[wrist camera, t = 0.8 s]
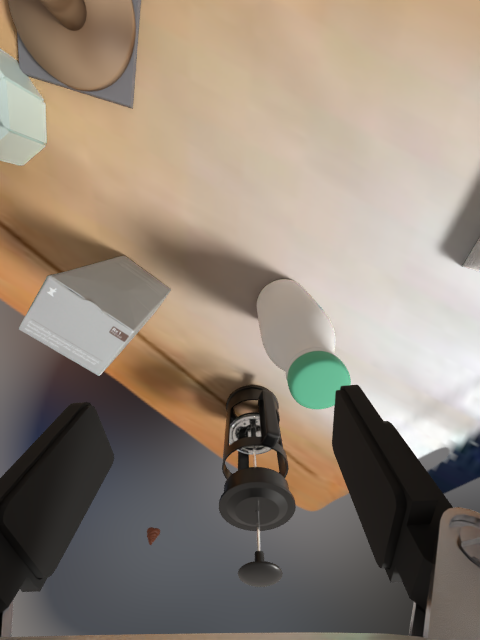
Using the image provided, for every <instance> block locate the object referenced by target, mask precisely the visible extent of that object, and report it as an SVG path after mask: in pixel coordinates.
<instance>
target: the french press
mask: <svg viewBox="0 0 480 640" xmlns="http://www.w3.org/2000/svg"><path fill="white" fill-rule="evenodd" d="M247 400H258V406H259V413H254V412H253V413H246V414H243V415H240V416H238V417H237V416H236V414H235V413H234V409H233V407H234V406H235V405H237V404H238V403H241V402H243V401H247ZM278 408H279V407H278V401H277V398H276V397H275V395H274V394H273V393H272V392H271V391H269V390H268V389H266V388H264V387H261V386H255V385H250V386H244V387H241V388H239V389H237V390H235V391H234V392H233V393H232V394H231V395H230V397H229V398H228V400H227V404H226V410H227V418H226V430H225V442H224V453H223V465H222V470H223V474H224V476H225V478H226V479H227V481H226V483H225V485H224V493H223V494H222V496H221V498H220V500H219V511H220V513H221V515H222V517H223V518H224V519H225V520H226V521H227V522H229V523H230V524H231V525H233V526H236V527H238V528H241V529H244V530H250V531H257V551H256V552H255V562H250V563H247V564H245V565H243V566H242V567H241V568H240V569H239V571H238V576H239V578H240V580H241V581H243V582H244V583H246V584H248V585H251V586H256V587H265V586H270V585H273V584H275V583H277V582H278V581H279V580H280V579H281V577H282V571H281V569H280V568H279V567H278V566H277V565H275V564H273V563H270V562H265V561H264V553H263V552H262V551H261V547H260V531H264V530H270V529H273V528H276V527H279V526H281V525H283V524H284V523H286V522H287V521H288V520H289V519H290V518H291V517H292V516H293V514H294V512H295V500H294V497H293V495H292V494H291V492H290V491H289V487H288V483H287V481H286V480H285V477H286V475H287V473H288V461H287V456H286V453H285V451H284V449H283V445H282V439H281V434H280V428H279V421H280V419H279V412H278ZM229 443H230V446H229ZM271 449H273V450H275V451H277V457H278V464H279V471H280V472H279V473H278V472H276V471H274V470H271V469H268V468H263V467H256V454H262V453H265V452H268V451H270V450H271ZM236 450H238V471H237V472H236V473H233V474H232V473H231V472H230V471H229V470H228V469H227V468H226V465H225V460H226V459H227V457H228V456H229V455H230V454H231V453H232V452H234V451H236ZM249 454H253V458H254V467H250V468H249Z"/></svg>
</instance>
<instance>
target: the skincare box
mask: <svg viewBox="0 0 480 640" xmlns="http://www.w3.org/2000/svg"><path fill="white" fill-rule="evenodd" d="M170 291H171V289H170V288H169V287H167V286H166V285H164V284H163V283H162V282H160V281H159V280H158V279H156V278H155V277H153V276H152V275H151V274H149V273H148V272H147V271H145V270H144V269H143V268H141V267H140V266H138V265H137V264H136V263H134V262H133V261H132V260H130V259H129V258H127V257H126V256H124V255H123V256H119V257H116V258H112V259H108V260H105V261H101V262H98V263H94V264H91V265H87V266H84V267H80V268H76V269H73V270H69V271H66V272H62V273H57V274H53V275H48V276H47V278H46V280H45V281H44V283H43V285H42V287H41V289H40V290H39V292H38V294H37V296H36V298H35V300H34V301H33V303H32V305H31V307H30V309H29V311H28V312H27V314H26V316H25V318H24V320H23V322H22V323H21V325H20V327H19V330H21V331H22V332H24V333H26V334H28V335H30V336H32V337H33V338H35V339H37V340H38V341H40V342H42V343H43V344H45V345H47V346H48V347H50V348H52V349H54V350H55V351H57V352H59V353H60V354H62V355H64V356H65V357H67V358H69V359H71V360H72V361H74V362H76V363H78V364H79V365H81V366H83V367H85V368H86V369H88V370H90V371H91V372H93V373H95V374H97V375H98V376H100V375H101V374H102V373H103V372H104V370H105V369H106V368H107V367H108V366H109V365H110V364H111V363H112V361H113V360H114V359H115V358H116V357H117V356H118V355H119V354H120V352H121V351H122V350H123V349H124V348H125V347H126V346H127V344H128V343H129V342H130V341H131V340H132V339H133V337H134V336H135V335H136V334H137V333H138V332H139V330H140V329H141V328H142V327H143V326H144V325H145V323H146V322H147V321H148V320H149V319H150V318H151V317H152V315H153V314H154V313H155V312H156V310H157V309H158V308H159V306H160V305H161V303H162V302H163V301H164V299H165V298H166V296H167V295H168V294H169V292H170Z"/></svg>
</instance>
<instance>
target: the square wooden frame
mask: <svg viewBox="0 0 480 640" xmlns="http://www.w3.org/2000/svg"><path fill="white" fill-rule="evenodd" d="M462 267H466V268H469V269H472V270H476V271H479V272H480V238H479V239H478V241H477V243H476V244H475V246H474V248H473V249H472V251H471V253H470V254H469V256H468V258H467V259H466V261H465V262H464V264H463V266H462Z"/></svg>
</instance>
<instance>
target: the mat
mask: <svg viewBox="0 0 480 640" xmlns="http://www.w3.org/2000/svg"><path fill="white" fill-rule="evenodd" d="M132 2H133V6H134V12H135V22H136V37H135V45H134V49H133V54H132V57H131V60H130V62H129V64H128V66H127V68H126V70H125V72H124V73H123V74H122V76H121V77H120V78H119V79H118V80H117V81H116V82H115V83H114V84H112V85H111V86H109V87H107V88H105V89H103V90H99V91H93V92H87V91H80V90H76V89H73V88H71V87H68V86H67V85H65V84H63V83H61V82H60V81H59V80H57V79H56V78H54V77H53V76H52V75H50V74H49V73H48V72H47V71H46V70H45V69H43V68H42V67H41V66H40V65H39V64H38V62H37V61H36V60H35V59H34V58H33V57H32V55H31V54H30V53H29V51H28V50H27V48H26V46H25V45H24V43H23V42H22V40H21V38H20V36H19V34H18V32H17V37H18V53H19V68H20V69H21V71H22V72H23V73H24V74H25V75H27V76H29V77H32V78H35V79H38V80H42V81H45V82H48V83H51V84H55V85H58V86H61V87H64V88H67V89H71V90H74V91H77V92H80V93H84V94H87V95H90V96H93V97H97V98H100V99H103V100H106V101H109V102H113V103H116V104H119V105H122V106H126V107H129V108H132V109H133V98H134V85H135V72H136V59H137V45H138V32H139V19H140V5H141V0H132Z"/></svg>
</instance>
